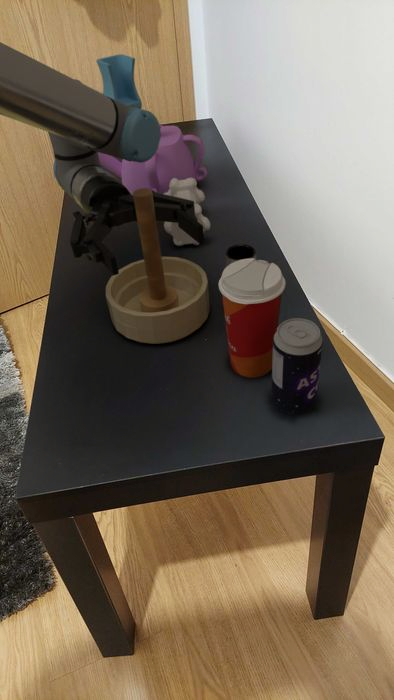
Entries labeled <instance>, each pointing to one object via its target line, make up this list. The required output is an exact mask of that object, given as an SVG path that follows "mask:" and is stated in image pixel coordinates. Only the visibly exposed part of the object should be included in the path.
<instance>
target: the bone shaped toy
mask: <svg viewBox="0 0 394 700" xmlns="http://www.w3.org/2000/svg"><path fill="white" fill-rule="evenodd" d="M197 184H198V181H197V180H195V179H194V178H187V179H186V180H178V179H176V178H173V179H172V180H171V181H170V184H169V190H168V192H167V193H164V194H165V195H169V196H174V197H178V198H183V199H187V200H191V201H194V207H195V216H196V217H197V222H199V223H200V224H201V225H203V234H204V235H205V232H207V231H209V230H210V229H211V222H210V219H208V217H206V216H204V215H203V214H202V212H203V211H202V206H201V205H200V204H202V203H204V202H205V200H206V196H205V193H204V192H203V191H202V190H201V189H199V188H198V187H197ZM163 228H164V230H165V232H166V233H167V234H169V235H171V236H172V241H173V244H174V245H175V246H177V247H182V246H184V245H194V246H199V245H200V244H199V243H198V242H197V241H195V240H194V239H193V238H192V237H190V236H189V235H188V234H187V233H186V232H184V231H183V230H182V229H181V228H179V227H178V223H174V222H164V221H163Z"/></svg>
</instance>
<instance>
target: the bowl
mask: <svg viewBox="0 0 394 700" xmlns="http://www.w3.org/2000/svg"><path fill="white" fill-rule="evenodd" d="M161 257H162V264H163V271H164V278H165V285H169V286H172V287H173V288H175V289H176V291H177V293H178V300H179V307H176V308H173V309H170V310H168V311H161V312H154V313H147V312H142V309H141V304H140V294H141V293H142V292H143V291H144V290H145V289H146V288H148V287H149V286H148V280H147V274H146V269H145V263H144V258H142V259H140V260H137V261H134V262H130V263H129V264H127V265H125V266H123V267H121V268H120V269H118V272H119V274H117V275H113V274H112V275H111V277H110V278H109V280H108V282H107V284H106V286H105V298H106V303H107V307H108V311H109V315H110V318H111V322H112V324H113V326H114V328H115V330H116V331H117V333H119V334H120V335H122V336H124V337H125V338H127V339H129V340H132V341H136V342H138V343H142V344H151V345H152V344H153V345H156V344H157V345H159V344H168V343H172V342H176V341H179V340H182V339H183V338H185V337H188V336H189V335H191V334H193V333H194V332H195V331H197V330H198V329H200V328H201V327H202V325H203V324H204V323H205V322H206V321H207V319H208V317H209V314H210V309H211V303H210V291H209V290H210V289H209V281H208V276H207V273H206V271H205V270H204V269H203V268H202V267H201V266H200V265H198V264H197V263H195V262H193V261H191V260H189V259H185V258H181V257H178V256H161Z"/></svg>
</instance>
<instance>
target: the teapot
mask: <svg viewBox="0 0 394 700" xmlns="http://www.w3.org/2000/svg"><path fill="white" fill-rule="evenodd" d="M159 125H160V130H161V138H160V141H159V145H158V149H157V151H156V153H155V155H154V156H153V157H152V158H151V159H150V160H148V161H146V162H141V163H140V162H134V161H130V162H129V161H127V160H124V159H121V161H120V160H118V159H117V157H114V156H110V155H107V154H103V153H100V152H98V156H99V160H100V165H101V167H103V168H104V169H106V170H108V171H110V173H113V174H115V175H116V176H117V177H119V178H120V179H121V183H122V184H123V185H124V186H125V187H126V188H127V189H128V191H129V192H130V194H131V195H133V192H134V191H135V190H138V189H142V188H147V189H151V190H153V191H155V192H157V193H161V194H164V193H167V192H168V190H169V184H170V181H171V180H172V179H173V178H176V179H178V180H186V179H187V178H194V179H195V180H196V182H200V181H204V180H205V179H206V178H207V175H208V172H207V169H206V168H205V167H204V166H200V165H201V164H202V160H203V157H204V154H205V145H204V142H203V140H202V139H201V138H200V137H199V136H197V135H194V134H185V135H184V133H183V132H182V130H181V128H180V127H178V126H176V125H162V124H161V123H159ZM188 142H193V143H195V144H196V145H197V146H198V152H197V156H196V159H195V162H194V157H193V154H192V151H191V149H190V147H189V144H188ZM199 172H202V174H199Z"/></svg>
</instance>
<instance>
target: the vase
mask: <svg viewBox="0 0 394 700" xmlns="http://www.w3.org/2000/svg"><path fill="white" fill-rule="evenodd" d="M96 64H97V66H98V69H99V72H100V75H101V79H102V86H103V89H102V94H104V95H106V96H107V97H110V98H112V99H114V100H116V101H118V102H120V103H122V104H124V105H127V106H130V107H139V108H141V109H142V107H143V103H142V99H141V97H140V95H139V93H138V90H137V87H136V83H135V64H136V58H135V57H132V56H129V55H126V54H121V53H120V54H119V53H118V54H114V55H110V56H105V57H100V58H97V59H96Z"/></svg>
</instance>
